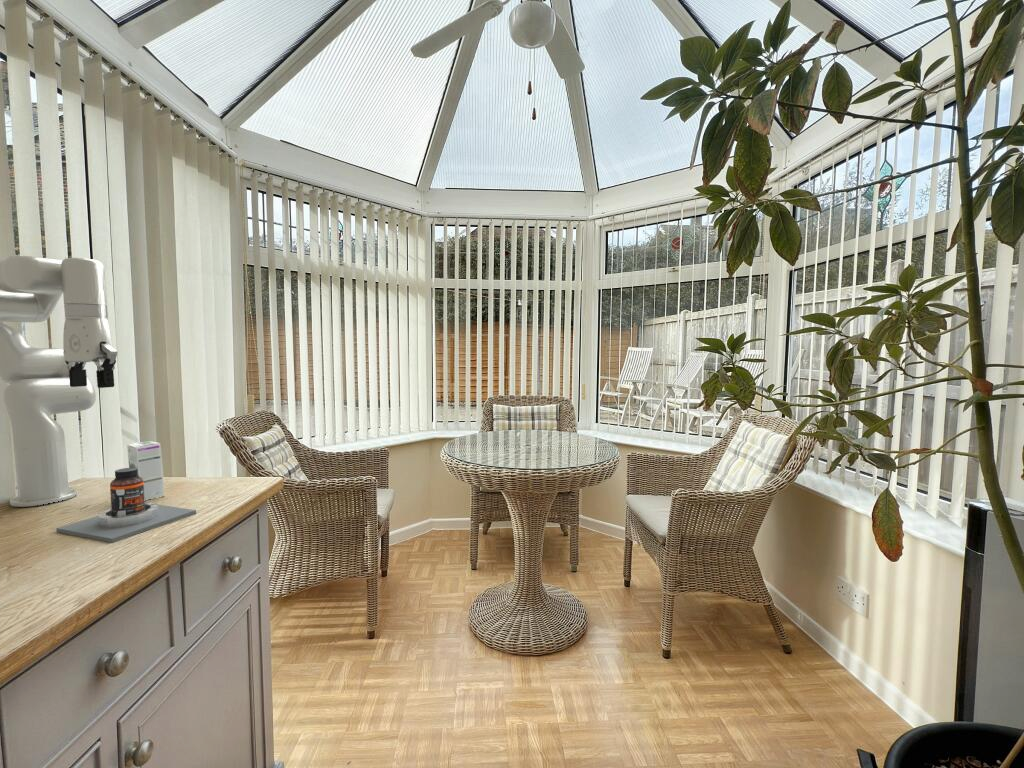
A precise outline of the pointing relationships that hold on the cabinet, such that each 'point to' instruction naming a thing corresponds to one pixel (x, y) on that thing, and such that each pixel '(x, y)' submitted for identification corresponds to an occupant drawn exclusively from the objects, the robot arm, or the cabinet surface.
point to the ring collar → (128, 517)
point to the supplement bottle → (127, 492)
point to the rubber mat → (112, 534)
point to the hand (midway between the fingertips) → (92, 386)
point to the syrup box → (148, 467)
